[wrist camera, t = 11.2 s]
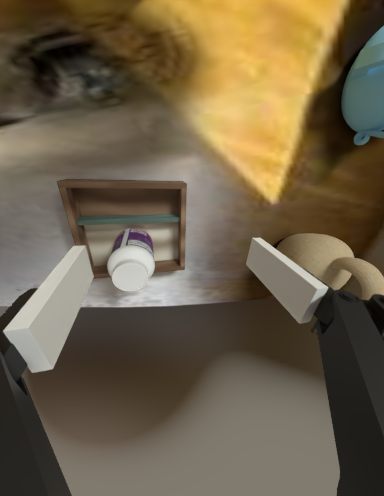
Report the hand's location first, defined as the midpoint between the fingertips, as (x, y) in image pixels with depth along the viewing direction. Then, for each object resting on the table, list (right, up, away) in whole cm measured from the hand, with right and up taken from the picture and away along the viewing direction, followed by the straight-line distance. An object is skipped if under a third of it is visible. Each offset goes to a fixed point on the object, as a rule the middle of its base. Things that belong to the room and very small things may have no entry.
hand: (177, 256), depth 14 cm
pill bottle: (-12, +2, +26) cm, 29 cm away
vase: (+30, 0, +39) cm, 50 cm away
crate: (-12, +5, +25) cm, 28 cm away
